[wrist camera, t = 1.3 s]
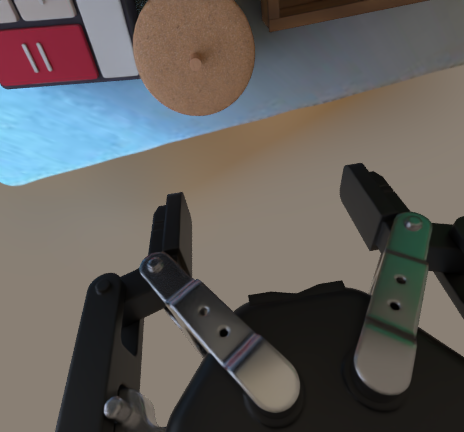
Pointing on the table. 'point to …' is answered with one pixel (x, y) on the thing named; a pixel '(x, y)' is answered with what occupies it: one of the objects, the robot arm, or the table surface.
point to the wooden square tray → (318, 10)
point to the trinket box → (194, 53)
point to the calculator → (66, 42)
